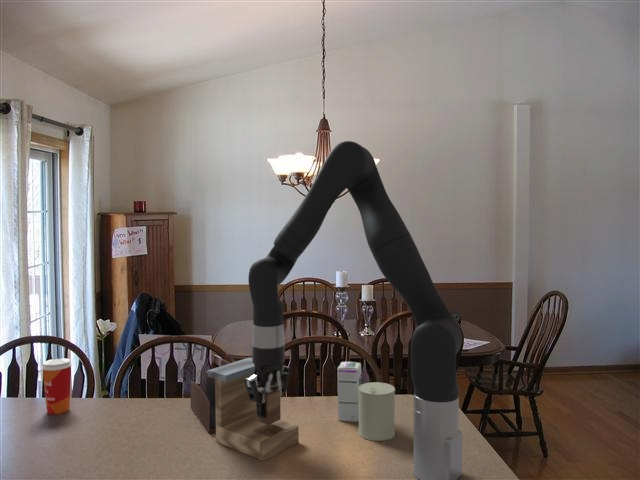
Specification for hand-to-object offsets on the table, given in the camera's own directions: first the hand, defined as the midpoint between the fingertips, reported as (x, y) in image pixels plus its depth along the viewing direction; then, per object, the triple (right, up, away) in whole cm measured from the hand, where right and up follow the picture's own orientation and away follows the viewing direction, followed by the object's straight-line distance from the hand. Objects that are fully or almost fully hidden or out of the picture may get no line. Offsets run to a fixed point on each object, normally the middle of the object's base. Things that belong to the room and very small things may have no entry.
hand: (268, 414), depth 127 cm
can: (+26, -7, +8) cm, 28 cm away
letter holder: (-16, -7, +19) cm, 25 cm away
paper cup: (-61, -7, +23) cm, 66 cm away
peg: (0, -1, 0) cm, 1 cm away
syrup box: (+20, -7, +18) cm, 28 cm away
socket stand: (-3, -8, +3) cm, 9 cm away
